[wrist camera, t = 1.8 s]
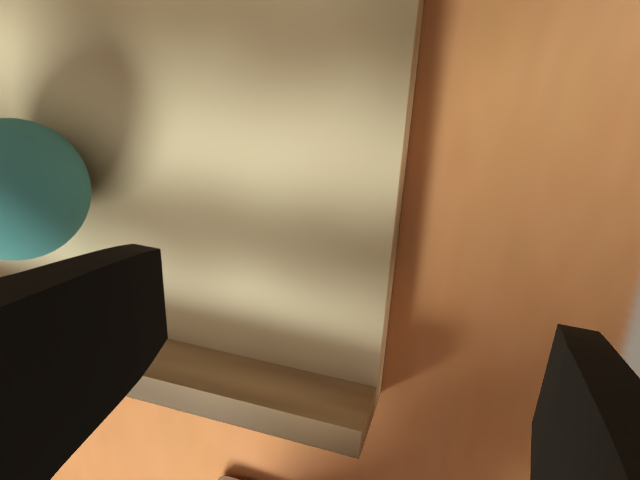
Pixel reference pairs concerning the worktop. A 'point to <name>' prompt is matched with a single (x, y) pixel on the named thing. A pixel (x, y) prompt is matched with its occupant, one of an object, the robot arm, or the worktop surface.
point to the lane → (238, 186)
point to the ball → (39, 190)
